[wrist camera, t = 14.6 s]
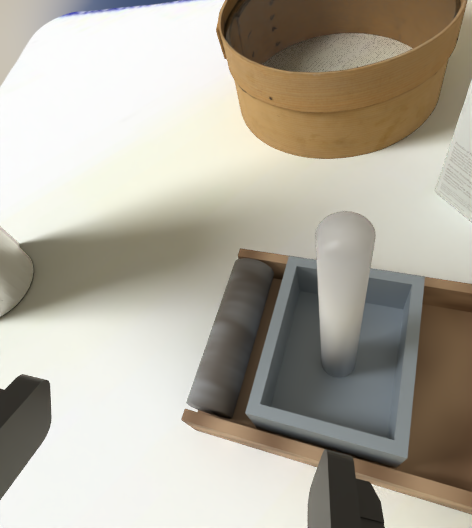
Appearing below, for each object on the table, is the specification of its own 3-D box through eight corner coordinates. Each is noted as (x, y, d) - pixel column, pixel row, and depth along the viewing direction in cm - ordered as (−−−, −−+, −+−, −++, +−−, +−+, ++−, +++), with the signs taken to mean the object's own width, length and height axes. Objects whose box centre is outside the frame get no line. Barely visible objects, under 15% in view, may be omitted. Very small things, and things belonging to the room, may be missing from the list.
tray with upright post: (256, 427, 32) (191, 342, 17) (293, 285, 37) (269, 128, 22) (395, 467, 29) (468, 407, 14) (413, 306, 34) (477, 140, 19)
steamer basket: (198, 129, 53) (171, 42, 43) (295, 21, 62) (290, -70, 52) (390, 191, 42) (409, 95, 33) (471, 50, 52) (505, -56, 42)
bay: (192, 429, 34) (174, 416, 30) (244, 270, 41) (235, 243, 36) (582, 548, 26) (629, 552, 22) (565, 325, 32) (598, 297, 28)
